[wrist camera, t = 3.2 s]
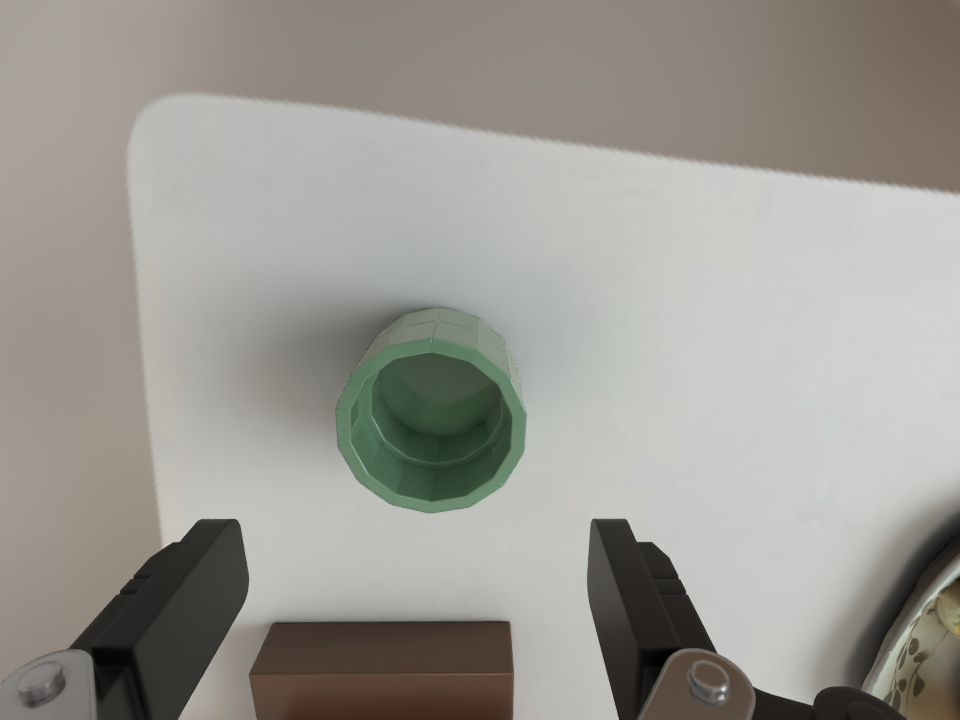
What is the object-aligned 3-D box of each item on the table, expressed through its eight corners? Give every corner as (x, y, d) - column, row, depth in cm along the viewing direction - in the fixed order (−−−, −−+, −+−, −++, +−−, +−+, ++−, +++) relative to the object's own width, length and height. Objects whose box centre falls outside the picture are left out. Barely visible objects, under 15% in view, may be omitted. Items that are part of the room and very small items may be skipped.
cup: (341, 409, 23) (306, 468, 18) (405, 276, 21) (384, 303, 17) (472, 469, 24) (470, 540, 19) (544, 348, 22) (562, 392, 18)
